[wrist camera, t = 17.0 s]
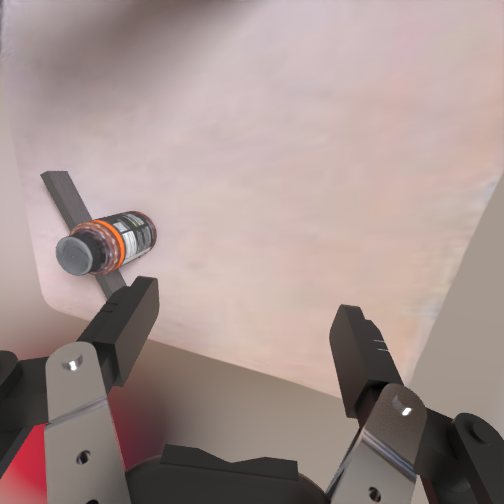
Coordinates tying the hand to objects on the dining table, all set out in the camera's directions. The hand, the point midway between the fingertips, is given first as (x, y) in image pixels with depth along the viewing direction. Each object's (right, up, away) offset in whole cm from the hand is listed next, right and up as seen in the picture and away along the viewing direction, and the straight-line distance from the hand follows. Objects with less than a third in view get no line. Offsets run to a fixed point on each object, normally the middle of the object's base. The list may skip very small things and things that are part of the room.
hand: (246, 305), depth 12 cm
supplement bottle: (-15, +5, +25) cm, 30 cm away
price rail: (-21, +4, +27) cm, 34 cm away
